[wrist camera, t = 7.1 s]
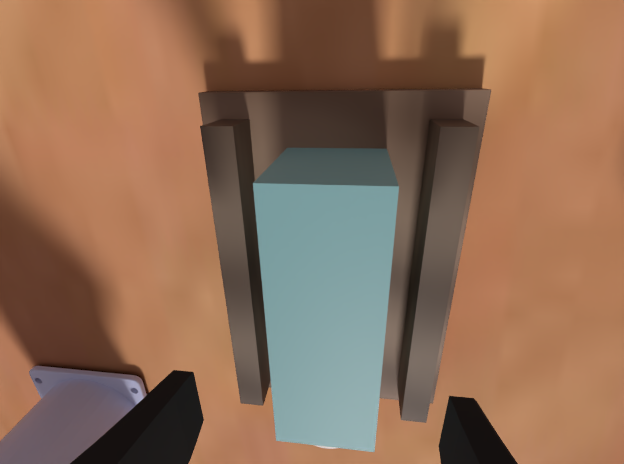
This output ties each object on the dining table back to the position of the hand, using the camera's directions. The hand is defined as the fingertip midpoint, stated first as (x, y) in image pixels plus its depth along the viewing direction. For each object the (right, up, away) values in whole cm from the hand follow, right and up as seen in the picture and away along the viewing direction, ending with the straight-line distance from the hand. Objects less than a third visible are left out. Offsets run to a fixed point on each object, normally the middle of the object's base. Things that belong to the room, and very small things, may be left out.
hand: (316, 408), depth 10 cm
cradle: (+1, +3, +7) cm, 8 cm away
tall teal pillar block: (+1, +3, +6) cm, 7 cm away
